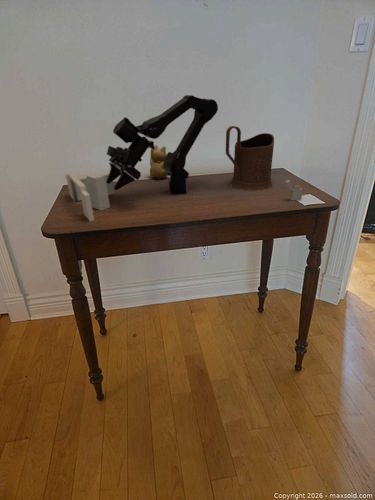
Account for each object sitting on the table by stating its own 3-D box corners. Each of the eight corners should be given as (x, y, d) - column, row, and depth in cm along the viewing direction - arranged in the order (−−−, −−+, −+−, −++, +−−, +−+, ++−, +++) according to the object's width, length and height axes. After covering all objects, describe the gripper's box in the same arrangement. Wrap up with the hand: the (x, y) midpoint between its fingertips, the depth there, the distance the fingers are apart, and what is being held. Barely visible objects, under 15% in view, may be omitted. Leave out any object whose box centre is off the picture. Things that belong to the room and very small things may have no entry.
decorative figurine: (171, 176, 150) (170, 144, 143) (163, 181, 143) (161, 148, 136) (154, 175, 153) (152, 143, 146) (145, 179, 147) (142, 146, 140)
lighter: (299, 198, 119) (302, 177, 115) (301, 199, 117) (304, 179, 113) (281, 200, 118) (284, 179, 114) (284, 201, 116) (286, 180, 112)
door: (75, 201, 121) (71, 180, 117) (74, 199, 123) (69, 178, 119) (114, 194, 128) (111, 173, 124) (112, 192, 130) (109, 172, 126)
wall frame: (69, 195, 129) (64, 170, 124) (74, 195, 129) (68, 169, 124) (89, 221, 104) (83, 190, 99) (94, 220, 105) (89, 189, 100)
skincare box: (110, 207, 115) (105, 175, 110) (100, 211, 113) (95, 178, 107) (101, 204, 119) (95, 173, 113) (91, 207, 116) (85, 175, 110)
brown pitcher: (282, 185, 134) (289, 123, 122) (240, 196, 122) (244, 129, 110) (251, 176, 148) (255, 119, 136) (211, 185, 136) (212, 124, 124)
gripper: (110, 133, 115) (86, 168, 116) (127, 140, 101) (100, 179, 102) (132, 152, 123) (110, 184, 123) (152, 161, 108) (126, 197, 109)
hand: (111, 186), depth 114 cm, fingers open, 9 cm apart
